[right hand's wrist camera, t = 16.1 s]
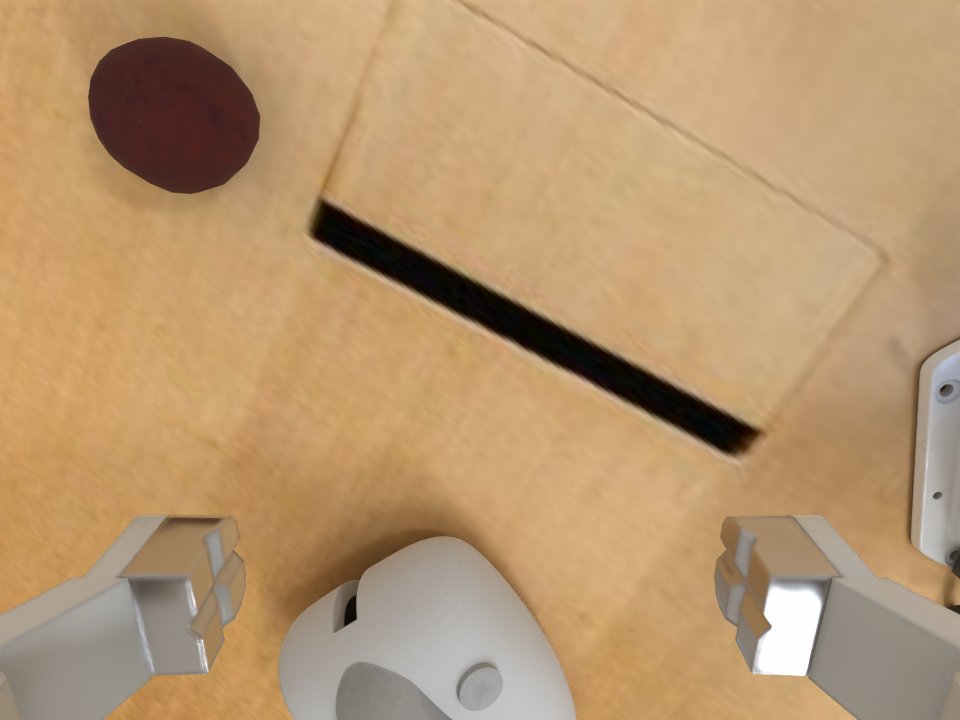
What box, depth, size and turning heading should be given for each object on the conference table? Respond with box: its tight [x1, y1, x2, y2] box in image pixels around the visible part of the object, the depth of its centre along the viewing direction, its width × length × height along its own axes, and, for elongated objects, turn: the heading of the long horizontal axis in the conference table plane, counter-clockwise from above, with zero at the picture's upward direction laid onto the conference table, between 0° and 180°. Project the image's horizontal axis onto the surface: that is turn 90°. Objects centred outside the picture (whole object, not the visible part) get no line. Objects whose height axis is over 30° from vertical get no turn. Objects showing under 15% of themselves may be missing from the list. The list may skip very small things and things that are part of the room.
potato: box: [88, 37, 260, 194], centre depth 32 cm, size 7×8×7 cm
